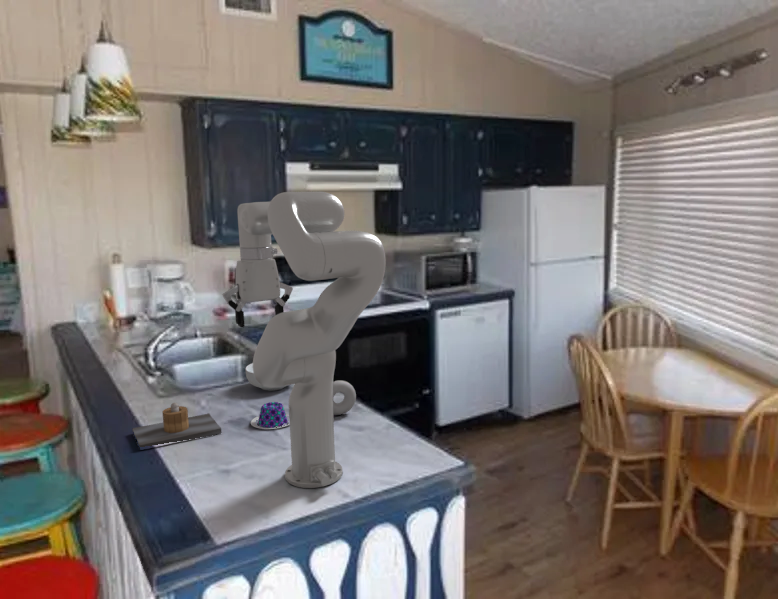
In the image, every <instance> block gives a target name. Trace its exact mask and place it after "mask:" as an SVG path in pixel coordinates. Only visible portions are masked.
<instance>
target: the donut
mask: <svg viewBox="0 0 778 599" xmlns="http://www.w3.org/2000/svg"><path fill="white" fill-rule="evenodd" d="M338 393H341V394H343V400H342V401H341V402H335V401H334V400H333V416H342V415H344V414H346V413H348V412H350V410H352V409H353V407H354V405H355V404H356V401H357V394H356V390H355V388H354V386H353V385H352V384H351V383H350V382H348V381H346V380H335V381H334V380H333V398H334V397H335V396H336V395H337V394H338ZM341 414H342V415H341Z"/></svg>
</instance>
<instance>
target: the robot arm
mask: <svg viewBox="0 0 778 599" xmlns="http://www.w3.org/2000/svg"><path fill="white" fill-rule="evenodd" d="M344 219H345V208H344V205H343V202H342V201H341V200H340V199H339V198H338V197H337V196H336V195H335V194H332V193H329V192H326V191H285V192H281V193H278V194H276V195H274V197H273V198H272V199H271V200H270V201H255V202H254V201H253V202H245V203H240V204H239V205H238V206H237V225H238V226H237V227H238V239H239V252H240V253H239V254H240V256H239V257H240V260H237V261H236V268H235V286H232V287H230V288H229V289H228V290H226V291H224V292H223V293H222V297H223V298H224V300H225V302H226V304H227V305H228V306H230V307H231V308H232V309H233V310H234V313H235V323H236V325H237V326H238V327H240V328H244V327H245V315H244V314H245V313H244V311H243V308H244V307H245V305H246V304H247V303H257V302H266V301H274V302H275V306H274V313H275V315H274V316H272V317H271V318H270V319H269V321H268V322H267V324H266V326H265V328H264V331H263V332H262V335H261V337H260V339H259V341H258V343H257V346H256V347H255V350H254V354H253V358H252V363H253V372H254V375H255V378H256V380H257V381H258V382H259V383H260V384H261V385H262V386H264V387H267V388H276V387H282V386H285V387H287V386H290V385H293V387H292V389H291V391H290V394H289V398H288V414H289V421H290V425H289V437H290V452H291V455H290V456H291V464H290V465H289V466H288V467H287V468H286V470H285V472H284V473H285V474H284V478H285V480H286V482H287V483H289V484H290V485H292V486H294V487H297V488H302V489H303V488H304V489H314V488H315V489H316V488H322V487H326V486H330V485H333V484H334V483H336V482H338V481H339V480H340V479H341V478H342V476H343V466H342V465H341V464H340V463H339V462H338V461H336V449H335V448H336V447H335V426H334V425H335V424H334V421H335V420H334V415H333V401H334V397H333V382H334V375H335V369H336V361H337V351H336V350H337V349H338V348H340V347H341V345H342V344H343V342H344V341H345V339H346V338H347V336H348V335H349V333H350V331H351V330H352V329H353V327H354V325H355V323H356V322H357V320H358V319H359V317H360V316H361V314H362V313H363V312H364V310H365V309H366V308H367V307H368V306H369V304H370V303H371V302H372V301H373V299H374V298H375V296H376V295H377V294H378V292H379V290H380V289H381V286H382V284H383V282H384V281H383V280H384V277H385V271H386V266H387V264H386V263H387V261H386V251H385V247H384V245H383V243H382V241H381V239H379V237H378V236H376V235H374V234H372V233H370V232H367V231H361V230H339V231H337V230H338V229H339V228H340V226H341V225H342V223H343V221H344ZM272 236H273V237H274V240H275V241H276V244H277V245H278V247H279V249H280V250H281V253H282V255H283V256H284V258H285V260H286V262H287V264H288V266H289V268H290V270H291V271H292V272H293V274H295V276H296V277H297V278H298V279H300V280H304V281H311V282H313V281H321V280H329V279H335V280H334V281H333V282H331V283H330V284H329V285H327V286H326V287H325V288H324V290H322V291H321V293H320V295H319V296H318V299H317V300H316V302H314V305H313V306H310V307H307V308H302V309H294V310H289V311H288V310H287V311H284V310H285V309H284V306H285V305H286V303H287V302H288V301H289V299H290V298H291V297H290V296H291V295H292V292H293V289H294V288H293V286H290V285H288V284H286V283H283V282H281V281H280V277H279V276H280V275H279V271H278V266H277V262H276V259H275V258H274V255H276V254H278V248H274V247H273V246H272ZM281 289H283V290H284V293H283V295H282V296H281ZM233 295H235V298H236V299H237V300H236V302H235V301H234V300H233V298H232V296H233ZM286 385H287V386H286ZM289 421H288V422H289Z"/></svg>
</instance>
